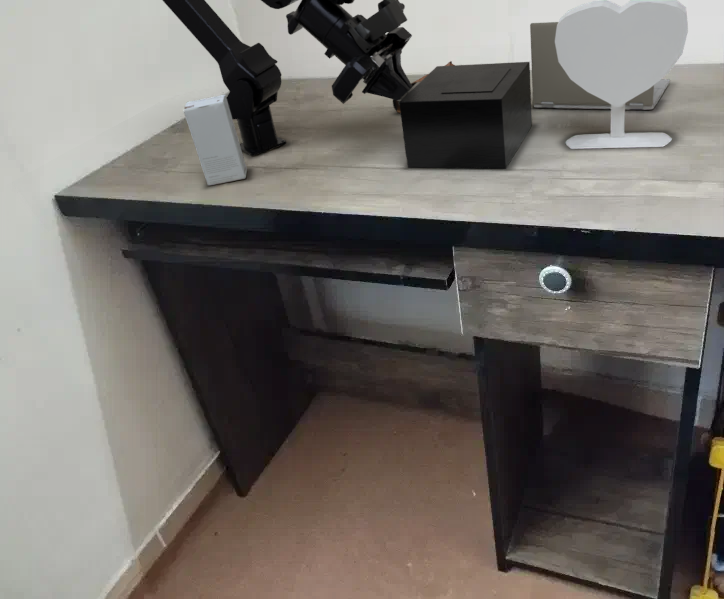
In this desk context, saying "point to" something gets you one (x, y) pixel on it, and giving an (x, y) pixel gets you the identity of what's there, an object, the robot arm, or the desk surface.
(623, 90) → the heart sculpture
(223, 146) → the cosmetic box
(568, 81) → the laptop
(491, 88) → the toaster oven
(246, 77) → the robot arm
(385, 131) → the desk surface
